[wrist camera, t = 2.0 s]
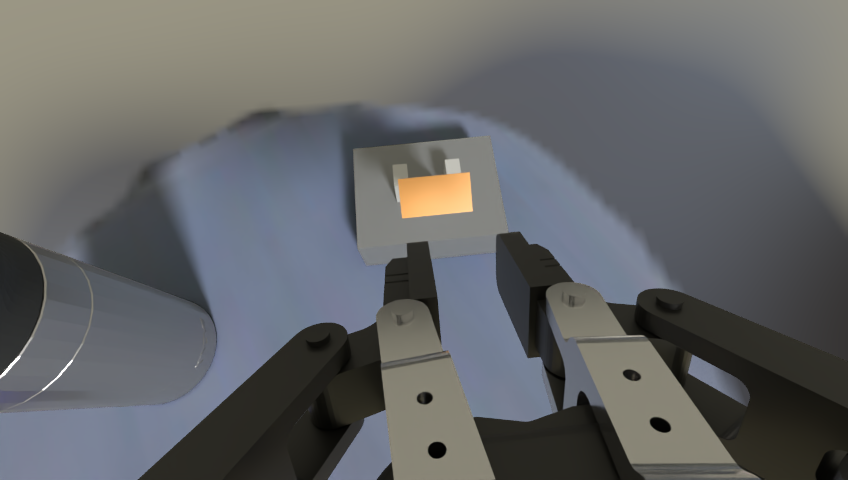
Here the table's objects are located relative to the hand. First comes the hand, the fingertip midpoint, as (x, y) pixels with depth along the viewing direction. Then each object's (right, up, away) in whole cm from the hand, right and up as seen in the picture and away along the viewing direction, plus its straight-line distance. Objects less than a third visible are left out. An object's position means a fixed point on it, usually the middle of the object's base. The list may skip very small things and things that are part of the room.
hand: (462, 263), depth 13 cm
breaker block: (-1, +4, +27) cm, 27 cm away
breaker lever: (-1, +5, +22) cm, 23 cm away
